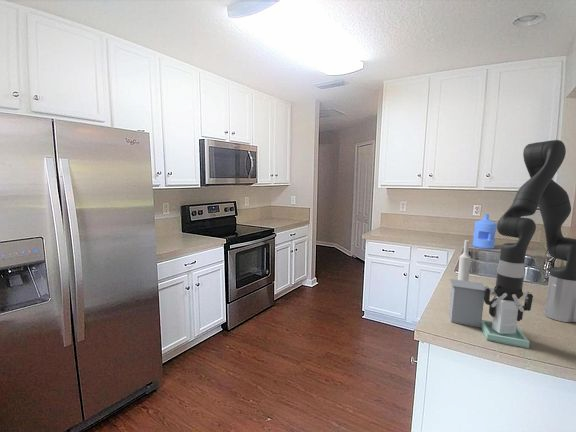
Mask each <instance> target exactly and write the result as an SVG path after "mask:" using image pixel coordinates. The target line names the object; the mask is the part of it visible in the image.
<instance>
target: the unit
mask: <svg viewBox="0 0 576 432" xmlns="http://www.w3.org/2000/svg"><path fill="white" fill-rule="evenodd" d="M450 284H451V288H450V289H451V290H450V299H449V307H448V308H449V309H448V316H449V319H450V322H451V323H455V324H461V325H466V326H471V327H477V328H481V322H482V320H483V312H484V311H483V310H484V304H485V302H484V293H485V287H486V286H485V285H484V284H483V282H478V281H469V280H468V281H463V280H458V279H455V278H450Z"/></svg>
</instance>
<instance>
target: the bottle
mask: <svg viewBox="0 0 576 432" xmlns="http://www.w3.org/2000/svg"><path fill="white" fill-rule="evenodd" d="M463 245H464V246H463V253H462V254H460V255H459V257H458V258H459V260H458V261H459V262H458V272H457V273H458V274H457V280H463V281H469V277H470V272H471V271H470V269H471V261H472V257H471V256H470V254H469V247H470V240H468V239H467V240H466V239H464V244H463Z"/></svg>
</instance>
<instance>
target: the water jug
mask: <svg viewBox="0 0 576 432" xmlns="http://www.w3.org/2000/svg"><path fill="white" fill-rule="evenodd" d="M489 215H490V214H489V213H485V214H484V215H483V217H484V218H482V219H479V220H476V221H475V222H474V229H473V240H472V247H475V248H476V249H477V248H478V249H485V250H492V249H495V244H496V242H495V241H496V240H495V238H496V237H495V235H496V232H497V223H496V222H494V221H493V220H491V219H490V218H489V217H490V216H489Z"/></svg>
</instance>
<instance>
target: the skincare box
mask: <svg viewBox="0 0 576 432" xmlns="http://www.w3.org/2000/svg"><path fill="white" fill-rule="evenodd" d="M495 298H496V299H497V298H498V297H495ZM518 309H519V308H518V306H517V304H516V303H515V301H509V300H500V303H498V304H497V305H496V306H495V315H494V317H492V321H491V322H492V329H494V330H495V331H497V332H498V333H500V334H515V333H516V327H517V326H518V325H517V324H518V321H517V318H518Z"/></svg>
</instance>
